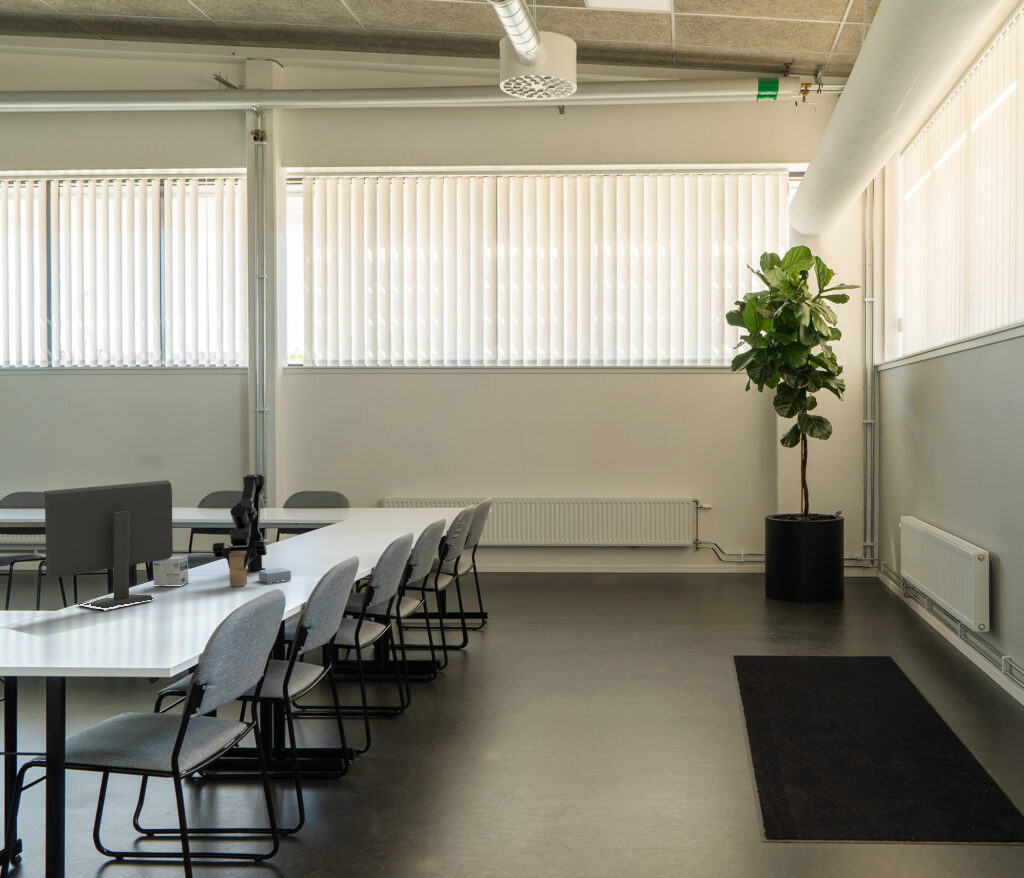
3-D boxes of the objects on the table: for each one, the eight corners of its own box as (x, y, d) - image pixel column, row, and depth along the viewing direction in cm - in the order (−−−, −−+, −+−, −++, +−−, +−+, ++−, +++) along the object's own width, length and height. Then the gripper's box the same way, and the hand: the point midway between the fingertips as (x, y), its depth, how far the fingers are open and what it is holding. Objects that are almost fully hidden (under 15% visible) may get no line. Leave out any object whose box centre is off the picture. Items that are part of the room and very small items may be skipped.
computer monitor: (159, 590, 325) (155, 479, 324) (187, 594, 316) (182, 480, 314) (38, 614, 290) (32, 490, 288) (64, 620, 280) (59, 491, 279)
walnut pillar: (233, 584, 333) (231, 551, 332) (246, 583, 333) (245, 551, 333) (230, 586, 328) (228, 553, 327) (244, 586, 328) (243, 553, 328)
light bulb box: (189, 583, 337) (188, 555, 337) (181, 587, 330) (179, 558, 330) (162, 583, 338) (160, 555, 338) (153, 587, 331) (151, 558, 331)
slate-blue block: (259, 581, 340) (258, 570, 340) (281, 578, 345) (281, 567, 345) (268, 584, 333) (267, 573, 333) (291, 581, 338) (290, 570, 338)
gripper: (212, 521, 333) (206, 555, 322) (264, 519, 334) (259, 553, 324) (218, 539, 341) (212, 573, 330) (268, 537, 343) (264, 571, 332)
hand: (237, 567), depth 329 cm, fingers closed on walnut pillar, 5 cm apart
